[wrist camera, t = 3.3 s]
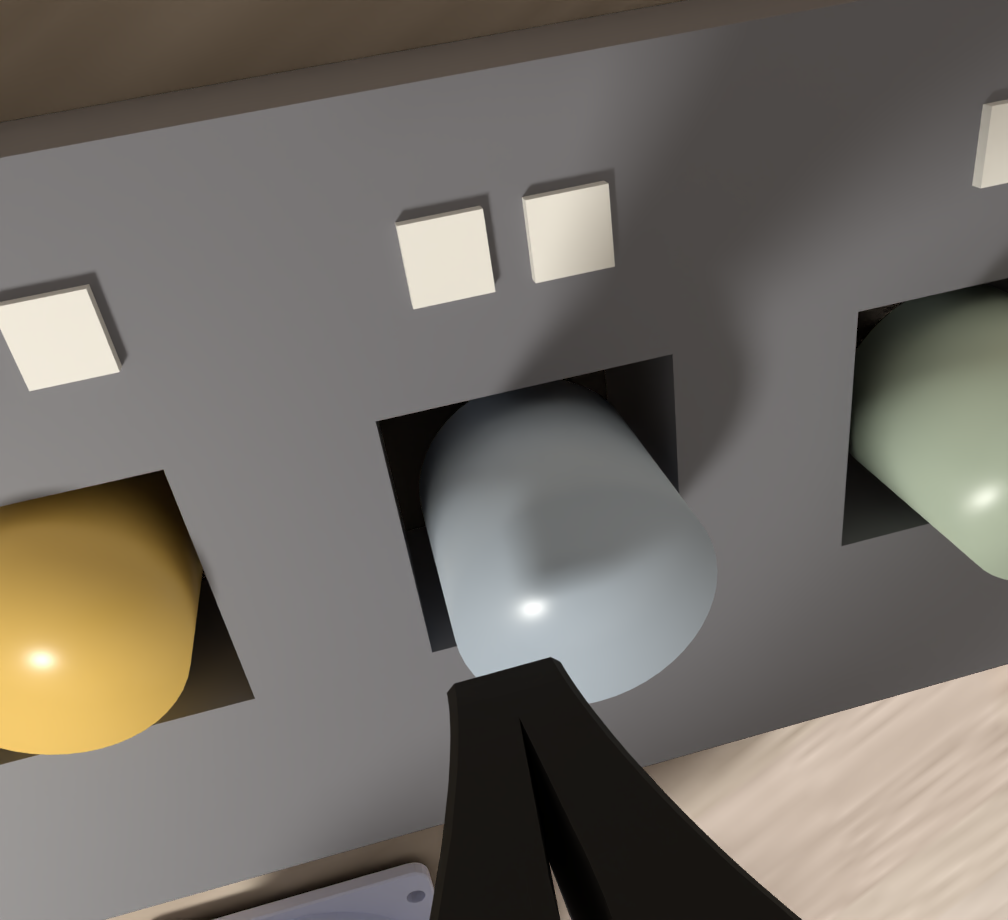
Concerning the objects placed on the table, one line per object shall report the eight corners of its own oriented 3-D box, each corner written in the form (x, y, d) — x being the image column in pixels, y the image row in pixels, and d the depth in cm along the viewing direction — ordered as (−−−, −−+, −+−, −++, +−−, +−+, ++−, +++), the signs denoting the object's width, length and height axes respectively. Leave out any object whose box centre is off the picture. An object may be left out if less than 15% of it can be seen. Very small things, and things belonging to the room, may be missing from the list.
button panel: (972, 541, 23) (1097, 646, 20) (41, 787, 21) (-9, 960, 17) (1074, -69, 16) (1300, -79, 13) (-336, 182, 13) (-559, 262, 10)
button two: (641, 542, 17) (719, 668, 14) (440, 593, 17) (476, 734, 14) (627, 356, 15) (715, 456, 12) (398, 407, 15) (429, 525, 12)
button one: (1011, 449, 18) (1159, 548, 15) (830, 495, 18) (946, 607, 15) (1045, 261, 16) (1226, 332, 13) (842, 307, 16) (980, 392, 12)
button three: (233, 586, 18) (222, 717, 15) (28, 636, 17) (-25, 781, 14) (166, 413, 16) (138, 522, 13) (-67, 464, 15) (-155, 590, 12)
